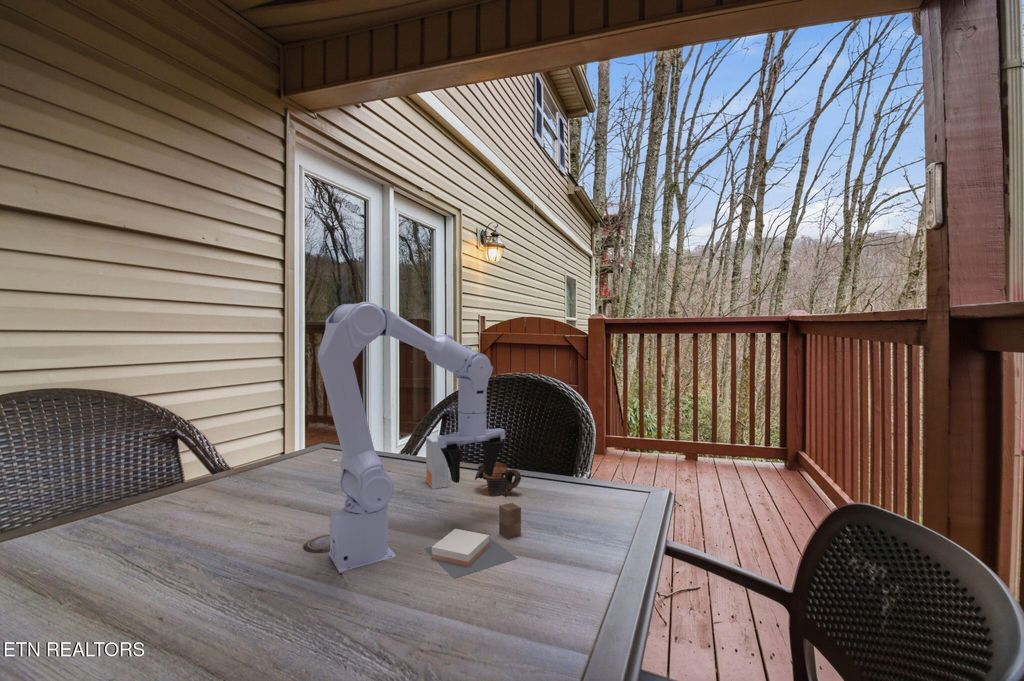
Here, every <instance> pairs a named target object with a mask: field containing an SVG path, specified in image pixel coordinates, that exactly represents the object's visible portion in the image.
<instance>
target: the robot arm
mask: <svg viewBox="0 0 1024 681" xmlns="http://www.w3.org/2000/svg"><path fill="white" fill-rule="evenodd" d="M380 336H381V337H382V336H383V337H389V336H390V337H391V338H394V339H396V340H398V341H400V342H403V343H405V344H407V345H410V346H412V347H414V348H416V349H419V350H420V351H423V352H424V353H425V356H426V359H427V360H428V362H430V363H433V364H434V365H436V366H439V367H440V368H442V369H445V370H446V371H449V372H451V373H452V374H453V375H454V377H456V379H458V381H457V382H458V383H457V384H458V385H457V387H458V389H457V390H458V394H457V395H458V397H457V398H458V399H457V401H458V402H457V404H458V405H457V406H458V407H457V412H458V413H457V417H458V418H457V420H458V421H457V423H458V424H457V425H458V426H457V432H454V433H453V432H452V433H449V434H445V435H441V436H438V435H437V436H438V447H440V448H441V451H442V453H443V454H444V456H445V459H446V461H447V464H448V471H449V475H450V478H451V481H452V482H454V483H456V484H458V483H460V477H461V472H460V471H461V470H460V469H461V468H460V467H461V461H462V460H461V458H462V454H463V450H462V449H460V448H459V446H460V445H467V444H472V443H474V444H475V443H481V445H482V450H483V465H484V472H485V474H486V475H488V476H492V474H493V470H494V466H495V463H497V459H498V457H499V455H500V453H501V451H502V450H503V447H504V441H503V440H506V430H505V429H503V428H500V427H499V428H487V404H488V402H487V400H488V399H487V394H488V393H487V391H488V387H489V379H490V377H491V376H492V373H493V371H494V366H492V363H491V361H490V359H489V357H488V356H487V355H486V354H484V353H481V352H474V351H473V350H472V349H473V348H472V346H469V345H463V344H461V343H460V342H458V341H455V340H454V339H455V337H454V336H453V335H451V334H450V333H449V334H448V333H447V334H437V335H436V336H433V335H431V334H430V333H428V332H426V331H424V330H423V329H421V328H420V327H418V326H417V325H415V324H413V323H411V322H410V321H408V320H407V319H404V318H403V317H402V316H400V315H398V314H396V313H395V312H393V311H392V310H390V309H388V308H385V307H380V306H379V305H377V303H374V302H370V301H362V302H359V303H344V304H341V305H339V306H337V307H336V308H335V309H334V310H333V311H332V313H331V314H330V315H329V316H328V317H327V318H326V320H325V329H324V333H323V337H322V340H321V342H320V344H319V345H320V346H319V348H318V353H317V362H318V365H319V370H320V374H321V377H322V381H323V384H324V388H325V392H326V396H327V400H328V404H329V406H330V412H331V416H332V420H333V423H334V427H335V430H336V434H337V438H338V441H339V447H340V449H341V453H342V457H341V459H340V466H341V468H340V469H341V473H340V474H341V475H340V479H339V486H340V489H341V491H342V493H343V494H345V495H346V498H345V502H344V506H343V507H342V508H341V509H339V510H335V511H333V512H331V514H330V516H329V552H328V556H329V558H330V559H331V560H332V562H333V564H334V566H335V568H336V570H337V571H338V573H339V574H344V573H345V572H344V571H348V570H351V569H354V568H355V569H356V568H359V567H362V566H367V565H370V564H372V563H373V564H374V563H377V562H381V561H385V560H389V559H392V558H395V557H396V556H397V555H396V554H395V552H394V551H393V550H392V549H391V548H390V546H389V503H390V501H391V500H392V498H393V496H394V492H395V485H394V481H393V479H392V478H391V476H390V475H389V474H387V472H386V471H385V468H384V464H383V462H382V460H381V458H380V457H379V455H378V453H376V450H375V446H374V443H373V439H372V435H371V431H370V427H369V423H368V418H367V416H366V415H367V414H366V411H365V408H364V403H363V400H362V395H361V391H360V386H359V383H358V378H357V374H356V371H355V366H354V361H355V360H356V359H357V357H358V356H359V354H360V353H361V352H362V350H363V349H364V348H365V347H366V346H368V345H369V344H370V343H372V342H373V341H375V340H376V339H377V338H378V337H380Z"/></svg>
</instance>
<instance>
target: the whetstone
mask: <svg viewBox="0 0 1024 681" xmlns="http://www.w3.org/2000/svg"><path fill="white" fill-rule="evenodd" d="M480 533H481V532H480ZM480 533H479V532H476V531H475V532H474V531H469V530H464V529H461V528H460V529H459V528H454V529H452V530H451V531H450V532H449V533H447V534H446V535H445V536H444V537H443V538H441V539H440V540H439V541H437V542H436V543H434V544H433V545H432V546H431V547H432V556H431V559H432V560H435V559H436V560H440V561H445V562H449V563H453V564H458V565H462V566H467V567H469V566H470V565H471V564H472V563H473V562H474V561H475V560H476V559H477V558H478V557H479V556H480V555H481V554H482V553H483V552H484V551H485V550H486V549H487V548H488V547H489V538H490V535H489V534H485V533H484V534H480ZM436 560H435V561H436Z"/></svg>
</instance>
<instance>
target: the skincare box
mask: <svg viewBox="0 0 1024 681" xmlns="http://www.w3.org/2000/svg"><path fill="white" fill-rule="evenodd" d="M438 436H442V435H441V434H440V435H430V436H426V438H425V443H426V444H425V448H426V449H425V450H426V451H425V452H426V454H425V455H426V456H425V457H426V458H425V460H426V462H425V463H426V464H425V466H426V467H425V468H426V469H425V470H426V471H425V473H426V475H425V476H426V480H425V481H426V483H427V484H428V485H429V486H430V488H431V490H435V488H437V489H442V487H444V488H448V486H449V467H448V464H447V461H446V459H445V456H444V454H443V453H442V451H441V448H440V447H438Z"/></svg>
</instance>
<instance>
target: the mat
mask: <svg viewBox="0 0 1024 681" xmlns="http://www.w3.org/2000/svg"><path fill="white" fill-rule="evenodd" d="M480 534H485V533H483V532H480ZM424 550H425V552H426V553H427V554H429V555H430V557H432V546H430V547H429V546H428V547H426V548H424ZM517 559H518V557H517V556H515V555H514V554H512V552H510V551H508V549H506V548H504V547H503V546H502V545H500V544H499V543H497V542H496V541H494V540H493V539H492V538H490V537H489V547H488V548H487V549H486V550H485V551H484V552H483V553H482V554H481V555H480V556H479V557H478V558H477V559H476V560H475V561H474V562H473V563H472V564H471V565H470V566H469V567H467V566H462V565H458V564H453V563H449V562H445V561H440V560H436V559H434V561H435V562H436V563H438V564H439V566H441V567H442V569H444V570H445V571H446V572H447V573H448V574H449V575H450V577H451V578H453V579H454V580H455V579H458V578H461V577H465V576H468V575H471V574H475V573H477V572H481V571H484V570H487V569H490V568H493V567H497V566H500V565H502V564H506V563H508V562H511V561H515V560H517Z"/></svg>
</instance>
